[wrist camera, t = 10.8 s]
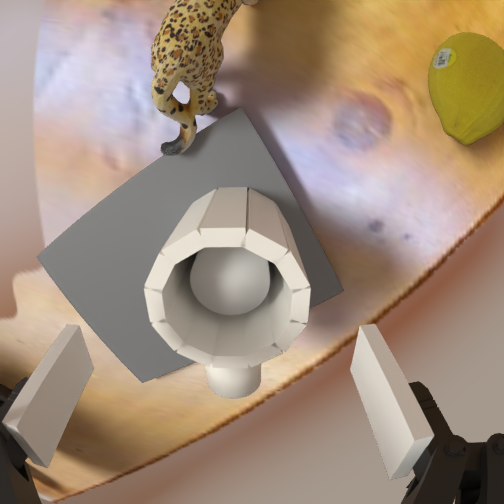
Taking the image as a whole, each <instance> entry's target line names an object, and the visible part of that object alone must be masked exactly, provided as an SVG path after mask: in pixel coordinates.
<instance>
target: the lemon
mask: <svg viewBox="0 0 504 504" xmlns="http://www.w3.org/2000/svg"><path fill="white" fill-rule="evenodd" d="M428 87H429V93H430V97H431V100H432V104H433V106H434V108H435V111H436V112H437V114H438V116H439V117H440V120H441V123H442V127H443V130H444V132H445V133H446V134H447V135H449V136H452V137H453V138H454V139H456V140H457V141H458V142H460V143H461V144H463V145H471V144H472V143H474V142H475V141H477V140H478V139H480V138H482V137H485V136H488V135H489V134H491V133H492V132H494V131H495V130H496V129H498V128H499V127H500V126H501V125H502V124H503V123H504V50H503V49H502V48H501V47H500V46H499V45H498V44H497V43H495V42H494V41H492V40H491V39H489V38H487V37H485V36H483V35H479V34H475V33H470V32H464V33H459V34H456V35H453V36H451V37H450V38H448V39H447V40H446V41H445V42H443V43H442V44H441V45H440V46H439V47H438V49H437V50H436V52H435V54H434V56H433V58H432V61H431V64H430V67H429V73H428Z"/></svg>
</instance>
